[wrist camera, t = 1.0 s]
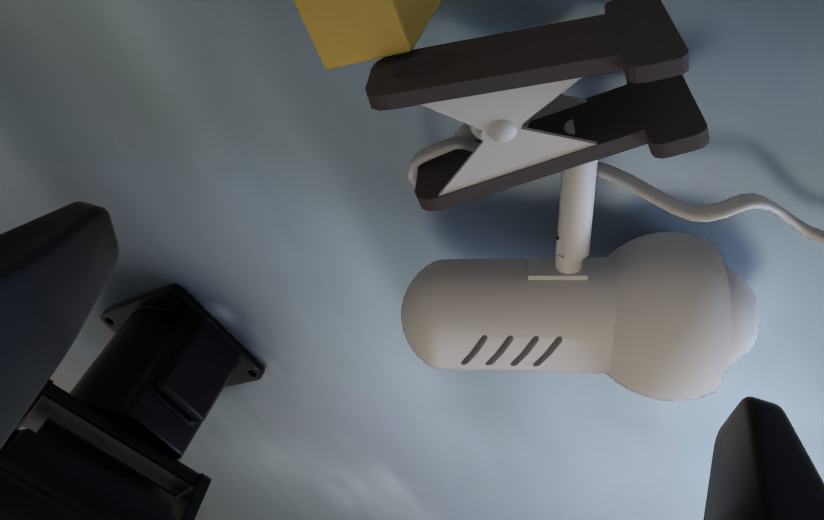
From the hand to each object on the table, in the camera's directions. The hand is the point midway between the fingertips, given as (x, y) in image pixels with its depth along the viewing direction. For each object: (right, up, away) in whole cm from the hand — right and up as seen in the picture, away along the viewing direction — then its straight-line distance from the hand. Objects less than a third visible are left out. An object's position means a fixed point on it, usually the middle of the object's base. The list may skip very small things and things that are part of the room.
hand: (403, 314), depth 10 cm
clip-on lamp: (+9, +3, +12) cm, 15 cm away
